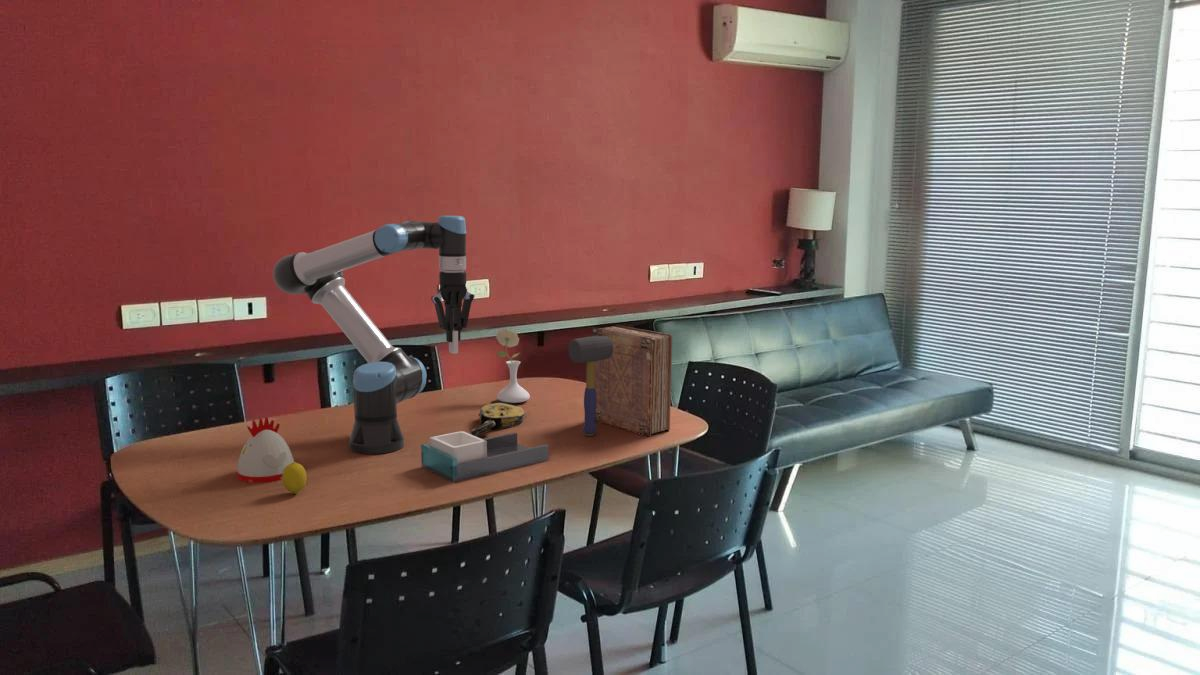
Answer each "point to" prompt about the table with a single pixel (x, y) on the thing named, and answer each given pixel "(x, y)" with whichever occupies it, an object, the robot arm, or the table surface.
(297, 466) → the lemon
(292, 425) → the table surface
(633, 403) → the book
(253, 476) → the kitchen timer
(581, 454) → the table surface
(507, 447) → the bay
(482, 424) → the pulley block
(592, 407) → the rubber mallet
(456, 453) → the crate
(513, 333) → the flower in vase
